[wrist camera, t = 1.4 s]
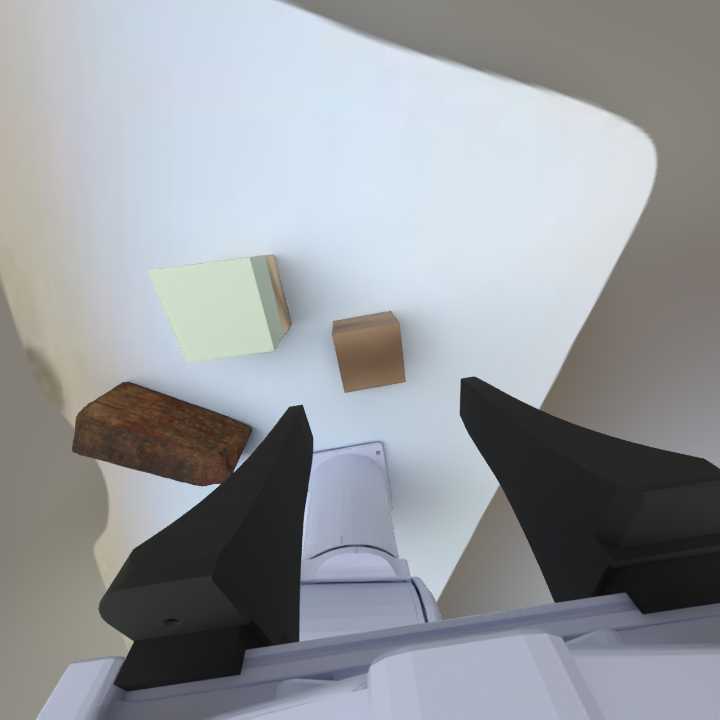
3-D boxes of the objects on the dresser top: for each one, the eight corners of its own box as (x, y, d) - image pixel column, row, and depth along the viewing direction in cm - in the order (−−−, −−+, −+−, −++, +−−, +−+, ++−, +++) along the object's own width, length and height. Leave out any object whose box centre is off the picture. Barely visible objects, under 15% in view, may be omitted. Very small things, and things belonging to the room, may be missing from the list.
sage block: (284, 334, 18) (274, 350, 15) (209, 344, 18) (185, 363, 15) (264, 255, 16) (249, 257, 13) (180, 266, 16) (146, 270, 13)
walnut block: (396, 362, 22) (405, 381, 19) (344, 371, 22) (344, 392, 19) (390, 310, 21) (399, 322, 17) (333, 320, 21) (332, 334, 17)
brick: (118, 415, 23) (66, 455, 18) (126, 378, 21) (73, 412, 17) (241, 454, 25) (221, 497, 21) (255, 423, 24) (237, 462, 20)
